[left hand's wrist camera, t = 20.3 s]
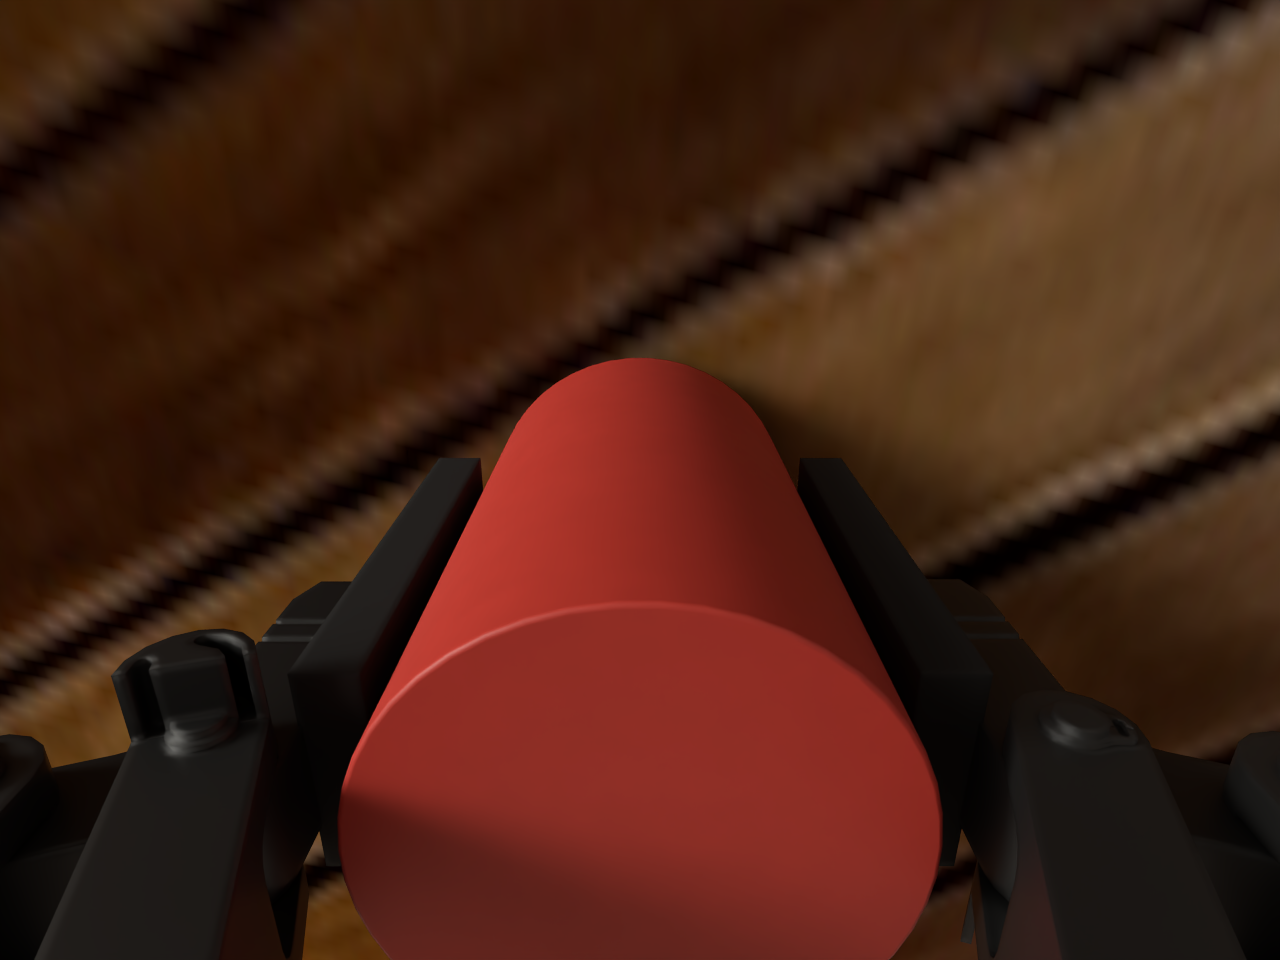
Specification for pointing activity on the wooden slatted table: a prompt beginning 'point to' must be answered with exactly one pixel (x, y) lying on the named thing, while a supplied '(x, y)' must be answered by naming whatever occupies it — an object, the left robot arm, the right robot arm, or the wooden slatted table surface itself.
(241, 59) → the wooden slatted table surface
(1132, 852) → the left robot arm
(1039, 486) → the wooden slatted table surface
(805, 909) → the canister
